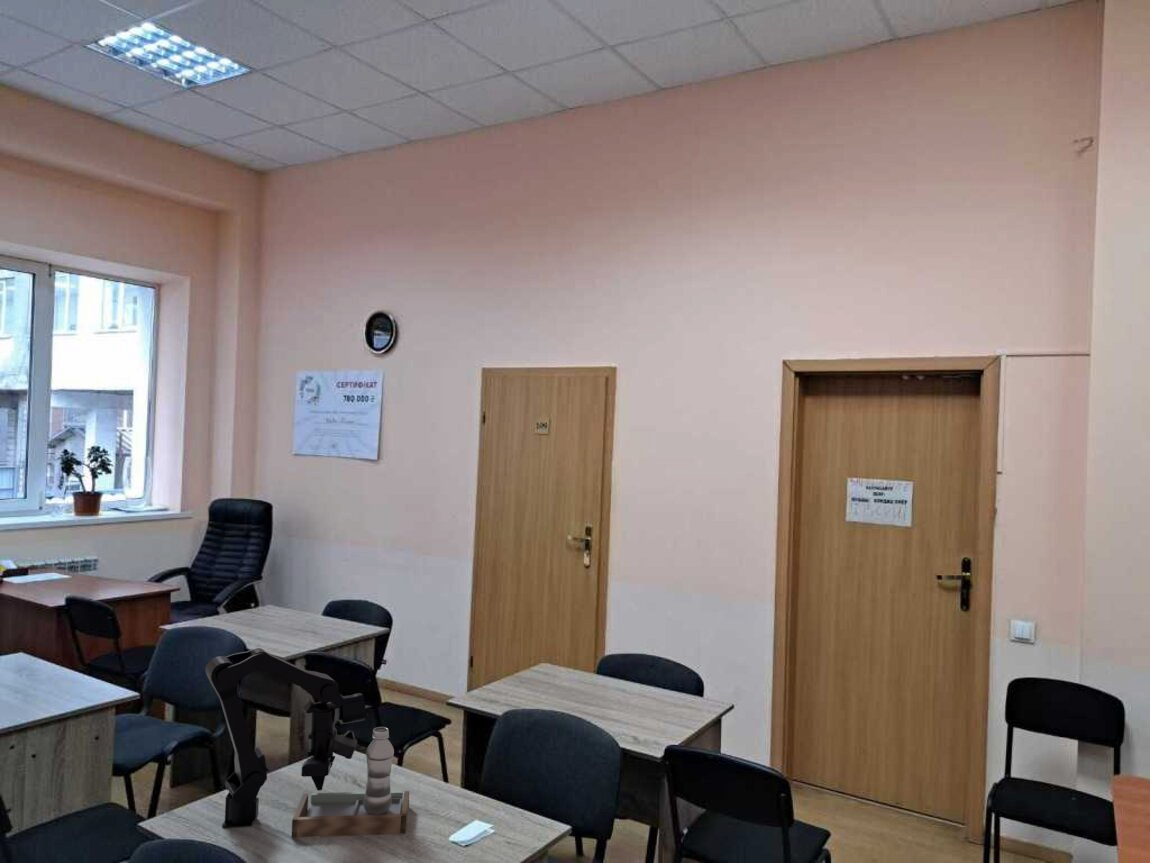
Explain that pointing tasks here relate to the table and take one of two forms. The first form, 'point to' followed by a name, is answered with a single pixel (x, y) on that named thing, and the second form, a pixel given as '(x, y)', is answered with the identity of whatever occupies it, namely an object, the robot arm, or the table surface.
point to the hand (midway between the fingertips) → (319, 789)
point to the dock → (348, 822)
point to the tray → (347, 804)
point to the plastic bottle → (378, 773)
